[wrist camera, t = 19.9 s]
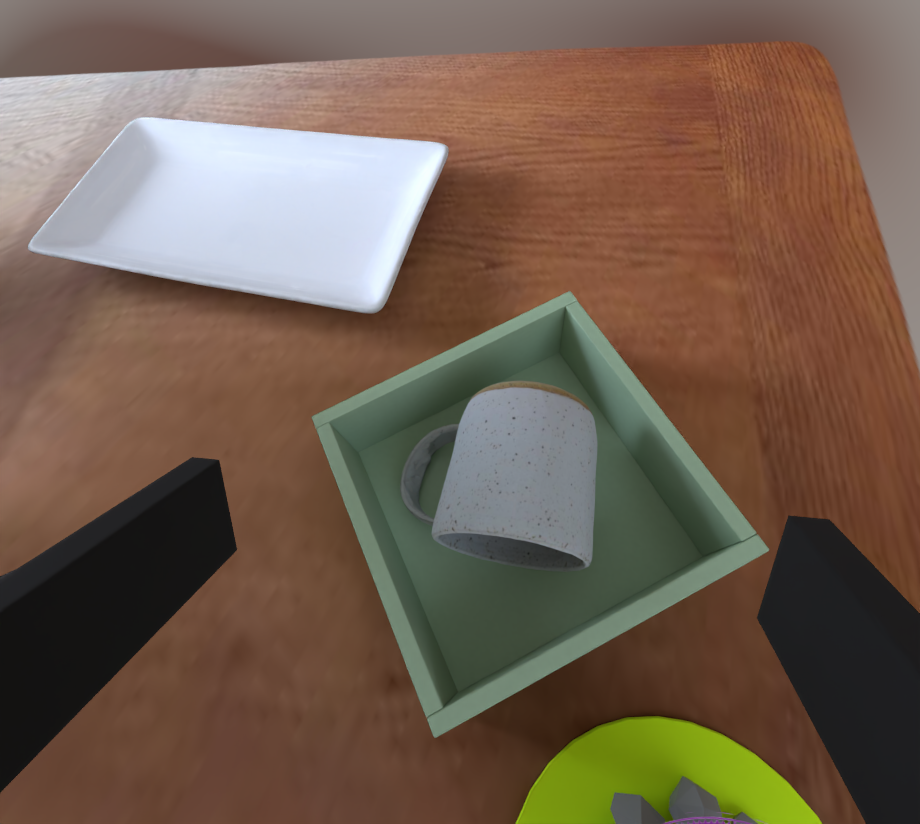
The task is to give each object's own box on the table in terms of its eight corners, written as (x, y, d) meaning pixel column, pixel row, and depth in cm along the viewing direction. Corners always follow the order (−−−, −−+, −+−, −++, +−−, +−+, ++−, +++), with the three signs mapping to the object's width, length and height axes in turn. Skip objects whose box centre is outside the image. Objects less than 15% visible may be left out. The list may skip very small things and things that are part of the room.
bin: (347, 451, 31) (311, 416, 26) (562, 344, 32) (569, 290, 27) (453, 713, 24) (433, 739, 19) (719, 565, 25) (770, 550, 20)
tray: (156, 145, 47) (130, 110, 44) (457, 176, 40) (452, 138, 37) (56, 278, 41) (17, 249, 38) (392, 343, 34) (378, 313, 31)
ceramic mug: (591, 436, 28) (610, 374, 21) (582, 578, 25) (601, 560, 18) (421, 418, 30) (389, 356, 23) (393, 548, 27) (346, 521, 20)
